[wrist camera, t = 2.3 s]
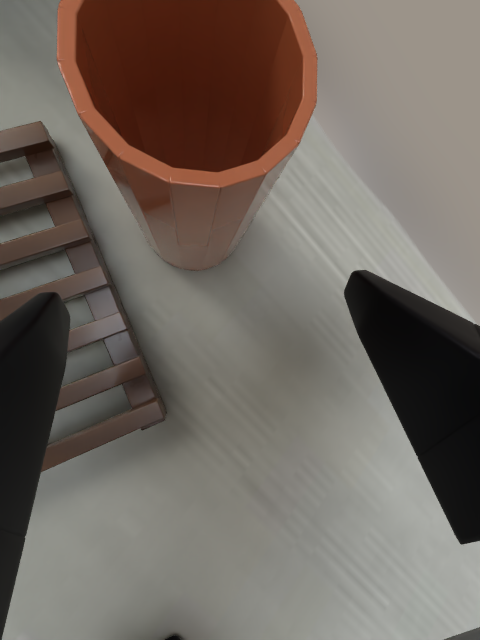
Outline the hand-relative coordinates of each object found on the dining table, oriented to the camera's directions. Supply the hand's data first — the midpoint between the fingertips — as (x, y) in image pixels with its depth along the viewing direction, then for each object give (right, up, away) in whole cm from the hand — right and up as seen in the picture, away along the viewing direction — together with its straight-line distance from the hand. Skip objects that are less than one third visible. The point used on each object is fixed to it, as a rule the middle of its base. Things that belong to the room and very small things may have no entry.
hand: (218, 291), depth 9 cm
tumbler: (-3, +6, +12) cm, 13 cm away
